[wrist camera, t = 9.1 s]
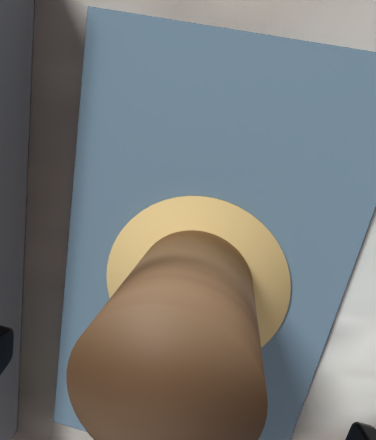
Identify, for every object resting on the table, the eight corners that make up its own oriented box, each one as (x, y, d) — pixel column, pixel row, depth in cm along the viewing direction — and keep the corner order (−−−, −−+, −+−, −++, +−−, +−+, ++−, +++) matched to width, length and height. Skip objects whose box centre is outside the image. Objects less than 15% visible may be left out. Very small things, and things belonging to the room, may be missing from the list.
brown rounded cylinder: (237, 348, 14) (240, 499, 8) (130, 320, 14) (59, 444, 8) (266, 245, 12) (294, 337, 7) (146, 218, 13) (74, 282, 7)
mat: (271, 478, 16) (272, 491, 15) (57, 415, 17) (51, 425, 16) (421, 63, 10) (432, 58, 10) (92, 10, 12) (85, 3, 11)
